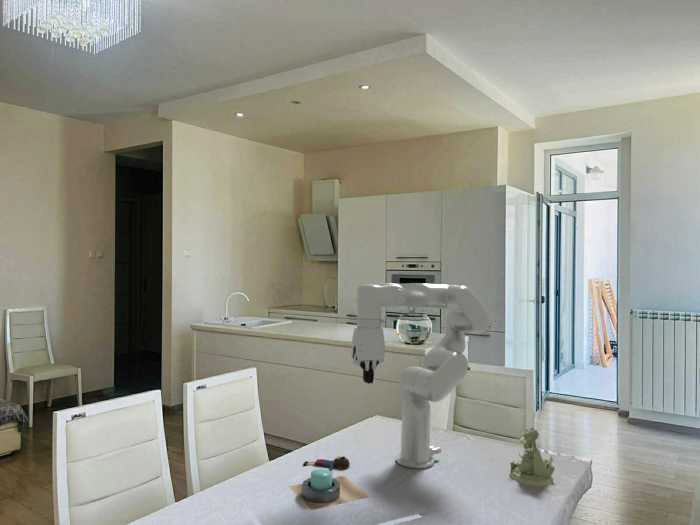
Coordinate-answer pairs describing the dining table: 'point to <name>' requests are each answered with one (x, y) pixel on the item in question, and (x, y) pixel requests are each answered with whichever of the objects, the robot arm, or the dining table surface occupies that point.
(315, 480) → the teal rounded tetrahedron
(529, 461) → the figurine
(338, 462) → the toy
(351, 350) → the robot arm
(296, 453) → the dining table surface
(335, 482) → the faceted gray ring
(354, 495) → the board
